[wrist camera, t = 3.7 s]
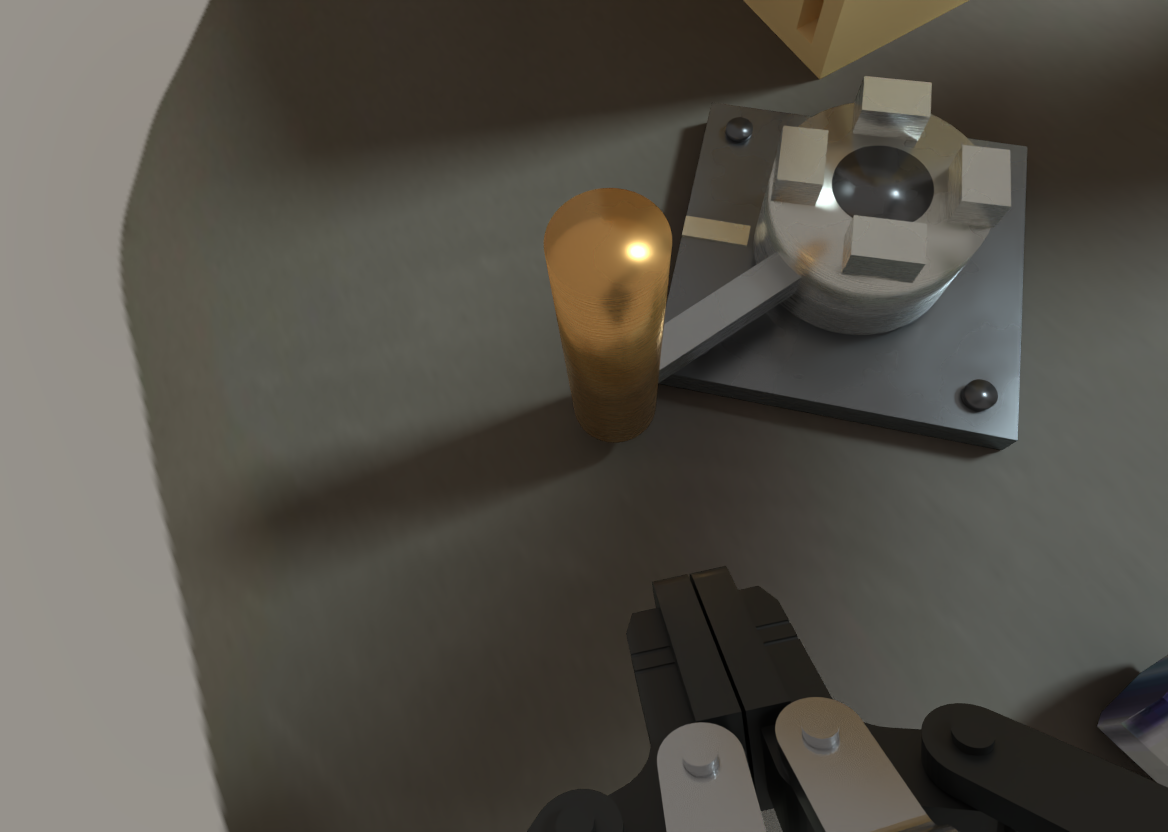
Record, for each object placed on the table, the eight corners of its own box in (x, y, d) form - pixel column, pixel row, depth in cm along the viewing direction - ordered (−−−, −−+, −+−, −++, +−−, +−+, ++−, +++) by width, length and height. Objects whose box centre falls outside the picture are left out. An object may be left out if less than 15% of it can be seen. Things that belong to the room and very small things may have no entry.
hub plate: (708, 121, 35) (712, 97, 33) (1013, 165, 33) (1031, 141, 31) (650, 382, 30) (651, 367, 29) (1002, 450, 28) (1021, 437, 27)
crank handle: (858, 141, 32) (968, -118, 22) (991, 267, 29) (1188, 40, 19) (526, 350, 29) (470, 167, 19) (641, 508, 27) (650, 396, 16)
